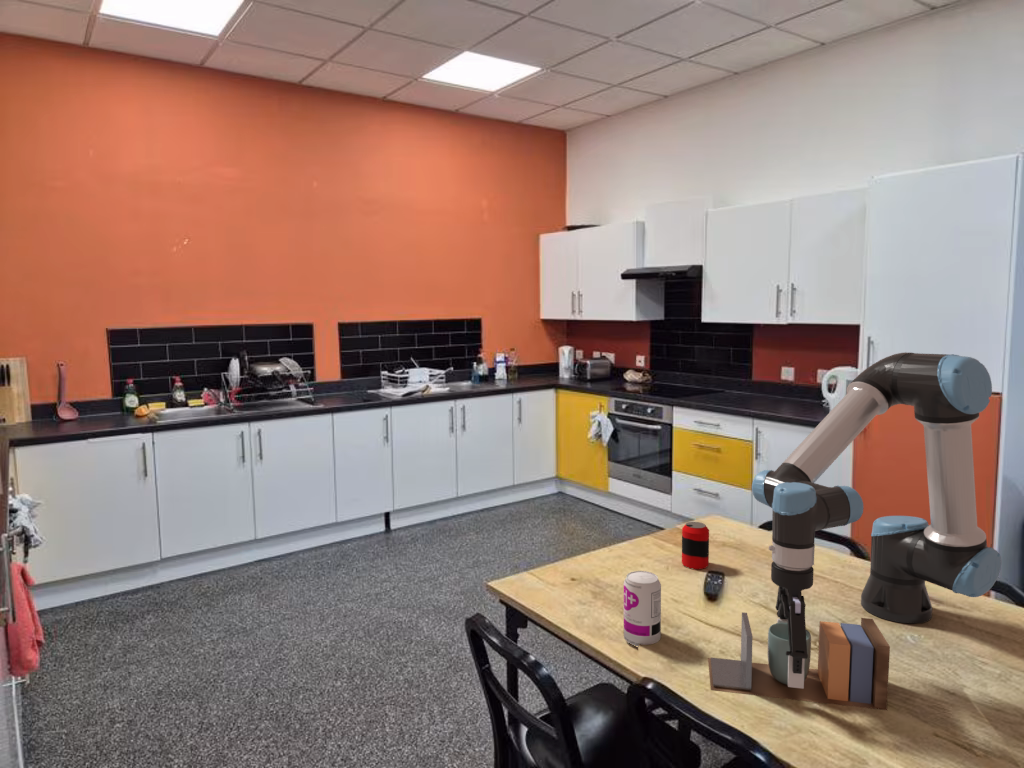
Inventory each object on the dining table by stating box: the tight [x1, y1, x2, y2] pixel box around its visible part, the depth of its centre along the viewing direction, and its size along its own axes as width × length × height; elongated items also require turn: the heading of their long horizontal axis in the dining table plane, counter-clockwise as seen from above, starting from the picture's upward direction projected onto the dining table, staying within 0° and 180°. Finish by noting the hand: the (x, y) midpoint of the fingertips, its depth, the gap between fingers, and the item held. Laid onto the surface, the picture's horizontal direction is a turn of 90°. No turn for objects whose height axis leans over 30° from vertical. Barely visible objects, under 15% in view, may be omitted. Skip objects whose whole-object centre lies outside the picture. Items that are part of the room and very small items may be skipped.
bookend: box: [710, 612, 754, 691], centre depth 132 cm, size 7×10×11 cm
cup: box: [767, 622, 812, 685], centre depth 130 cm, size 8×8×10 cm
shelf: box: [707, 617, 891, 711], centre depth 130 cm, size 31×12×13 cm, turn 76°
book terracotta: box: [817, 620, 850, 701], centre depth 128 cm, size 4×9×11 cm, turn 166°
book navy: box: [840, 622, 874, 704], centre depth 127 cm, size 4×9×11 cm, turn 166°
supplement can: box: [623, 570, 662, 648], centre depth 149 cm, size 8×8×15 cm
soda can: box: [681, 521, 710, 570], centre depth 192 cm, size 8×8×12 cm
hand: (789, 667), depth 130 cm, fingers open, 13 cm apart
